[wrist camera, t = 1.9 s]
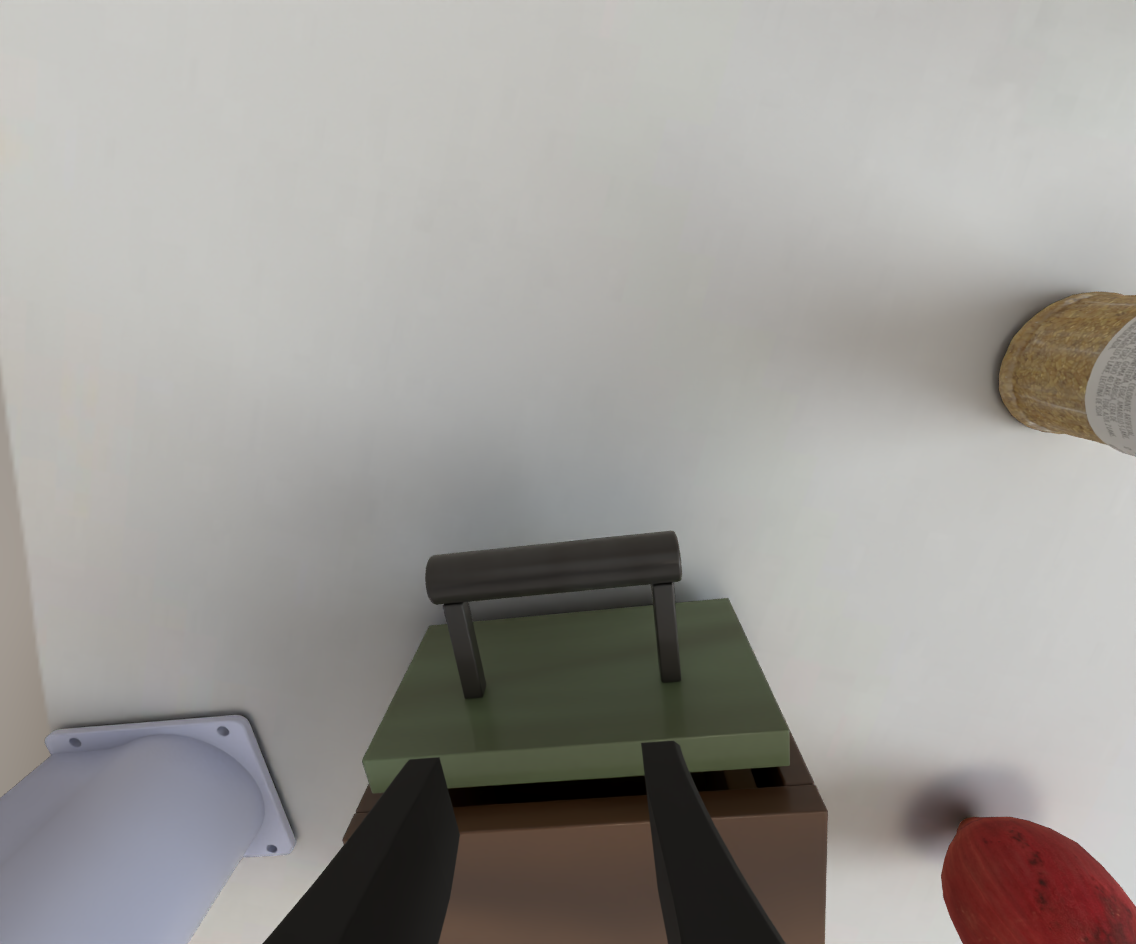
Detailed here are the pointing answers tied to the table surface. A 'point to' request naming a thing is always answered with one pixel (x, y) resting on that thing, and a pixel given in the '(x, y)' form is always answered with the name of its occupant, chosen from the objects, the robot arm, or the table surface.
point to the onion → (1030, 887)
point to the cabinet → (627, 863)
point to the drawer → (577, 681)
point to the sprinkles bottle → (1076, 370)
